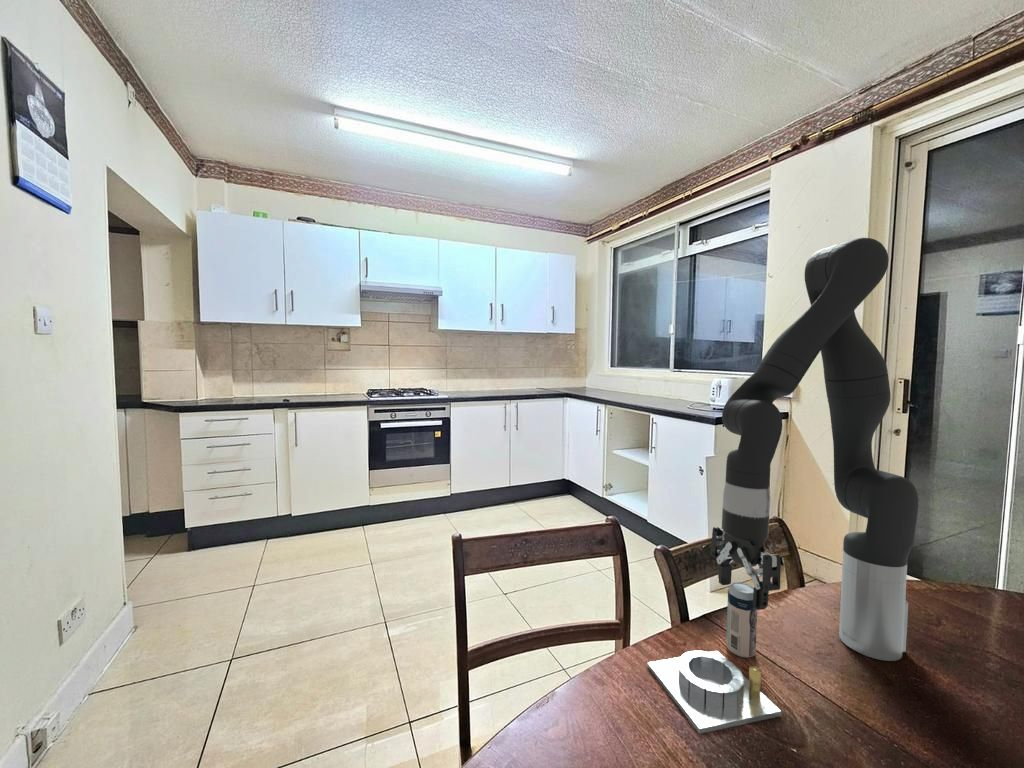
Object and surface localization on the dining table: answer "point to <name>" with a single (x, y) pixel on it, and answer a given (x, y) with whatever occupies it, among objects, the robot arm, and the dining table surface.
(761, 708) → the flange collar
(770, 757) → the dining table surface
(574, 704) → the dining table surface
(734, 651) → the beer can
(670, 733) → the dining table surface
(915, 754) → the dining table surface
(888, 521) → the robot arm
